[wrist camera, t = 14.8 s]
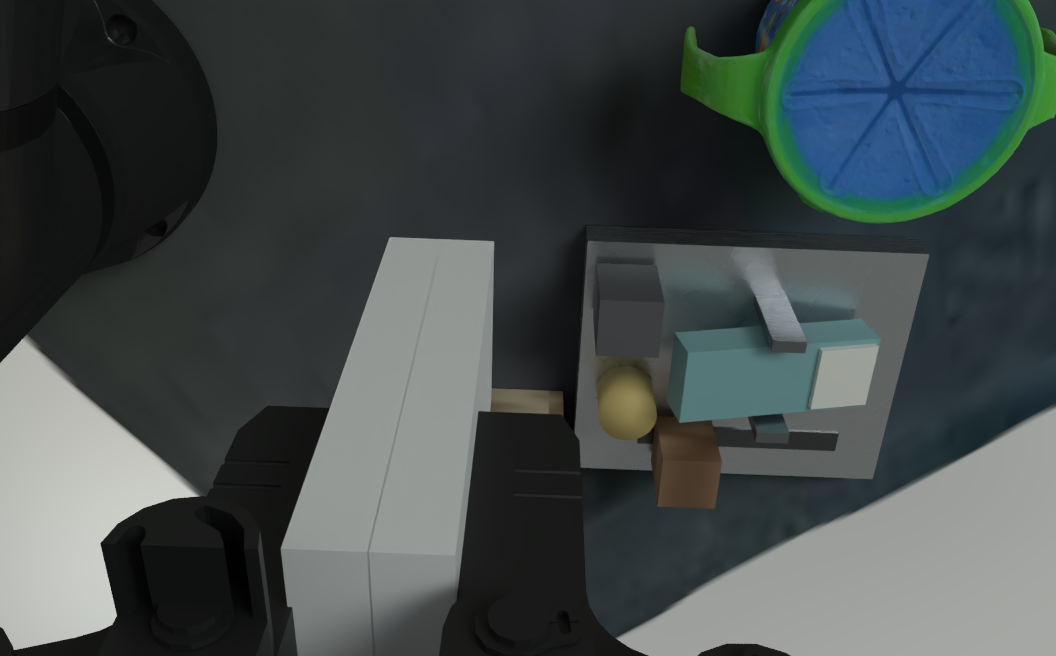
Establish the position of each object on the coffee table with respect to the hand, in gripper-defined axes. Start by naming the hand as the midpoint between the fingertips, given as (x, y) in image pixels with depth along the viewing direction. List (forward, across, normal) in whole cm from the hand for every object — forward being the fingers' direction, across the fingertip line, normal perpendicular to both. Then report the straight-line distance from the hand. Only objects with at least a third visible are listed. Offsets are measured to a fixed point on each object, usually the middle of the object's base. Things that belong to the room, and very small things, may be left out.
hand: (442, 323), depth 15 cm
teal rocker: (+30, +14, -18) cm, 38 cm away
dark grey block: (+32, +6, -15) cm, 36 cm away
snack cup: (+35, +15, -3) cm, 38 cm away
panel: (+34, +12, -20) cm, 42 cm away
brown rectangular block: (+32, +10, -25) cm, 41 cm away
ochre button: (+32, +7, -22) cm, 39 cm away
